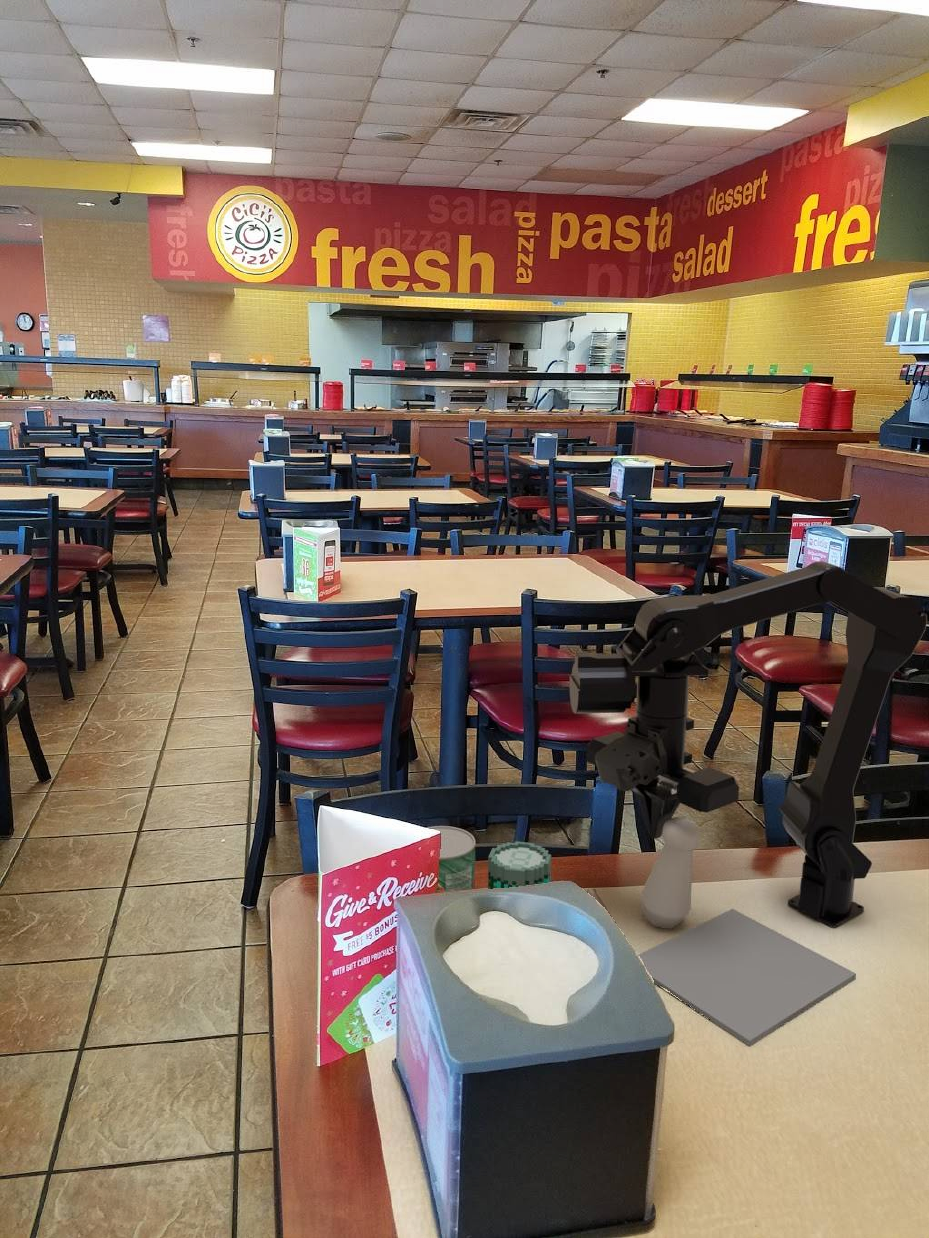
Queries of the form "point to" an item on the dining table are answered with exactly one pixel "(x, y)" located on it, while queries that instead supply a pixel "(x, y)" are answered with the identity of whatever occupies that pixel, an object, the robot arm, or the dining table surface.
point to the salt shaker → (671, 875)
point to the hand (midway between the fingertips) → (655, 837)
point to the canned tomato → (456, 859)
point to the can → (518, 865)
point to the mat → (743, 974)
